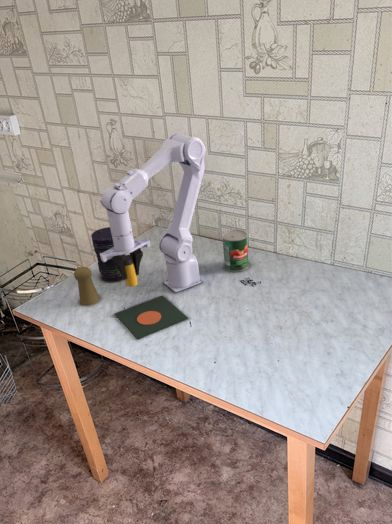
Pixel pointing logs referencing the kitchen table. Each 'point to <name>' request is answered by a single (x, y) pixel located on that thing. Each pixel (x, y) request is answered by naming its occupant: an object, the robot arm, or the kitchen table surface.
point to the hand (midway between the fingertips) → (130, 275)
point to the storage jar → (101, 244)
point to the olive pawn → (86, 286)
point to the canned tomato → (235, 250)
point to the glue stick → (130, 270)
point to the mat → (150, 316)
